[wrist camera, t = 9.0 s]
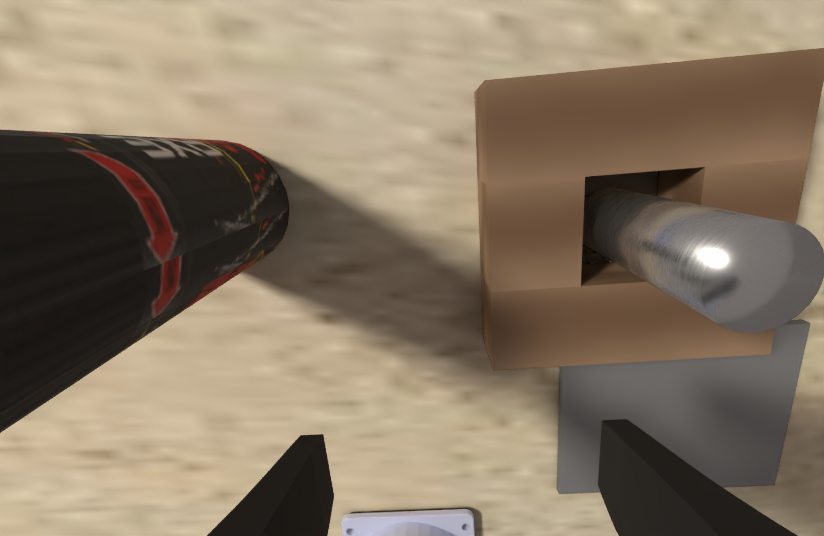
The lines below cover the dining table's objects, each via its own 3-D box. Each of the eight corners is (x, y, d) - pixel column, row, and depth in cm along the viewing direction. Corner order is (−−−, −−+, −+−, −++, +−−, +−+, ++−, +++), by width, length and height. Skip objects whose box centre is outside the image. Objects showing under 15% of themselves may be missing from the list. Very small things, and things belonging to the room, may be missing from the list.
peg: (639, 244, 19) (818, 323, 10) (576, 255, 19) (700, 340, 11) (638, 182, 18) (832, 211, 10) (572, 194, 18) (702, 232, 10)
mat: (768, 479, 23) (774, 485, 22) (556, 488, 23) (559, 494, 23) (802, 320, 20) (810, 323, 19) (560, 334, 20) (563, 338, 20)
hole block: (720, 324, 20) (770, 354, 17) (483, 339, 21) (493, 370, 18) (760, 65, 17) (830, 47, 14) (474, 92, 17) (484, 80, 14)
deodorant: (286, 143, 18) (-239, 117, 4) (291, 267, 20) (-57, 575, 5) (159, 137, 18) (-834, 89, 4) (175, 261, 20) (-472, 548, 6)
